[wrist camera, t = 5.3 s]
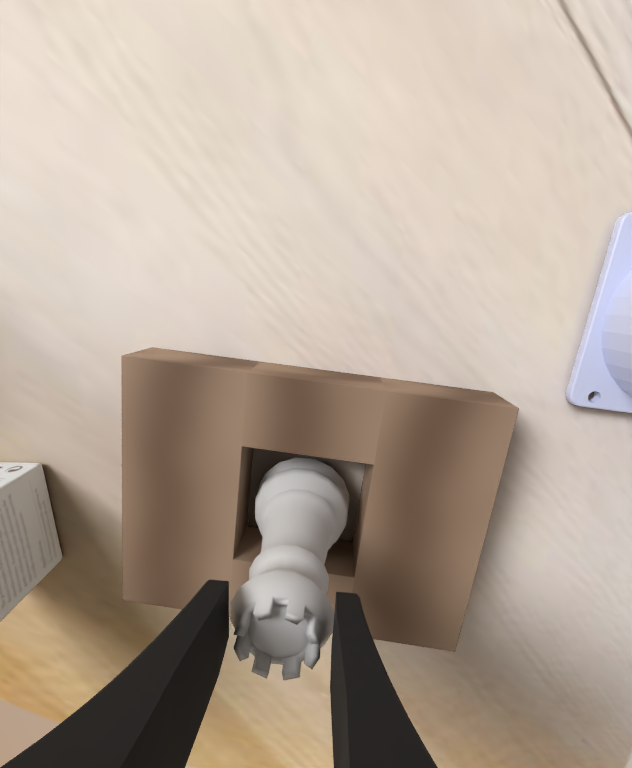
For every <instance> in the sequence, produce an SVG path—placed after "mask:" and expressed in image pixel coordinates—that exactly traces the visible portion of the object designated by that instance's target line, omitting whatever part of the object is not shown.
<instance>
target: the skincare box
mask: <svg viewBox="0 0 632 768" xmlns="http://www.w3.org/2000/svg"><path fill="white" fill-rule="evenodd" d="M61 560H62V552H61V548H60V544H59V539H58V535H57V531H56V526H55V521H54V517H53V512H52V508H51V503H50V499H49V494H48V490H47V485H46V481H45V476H44V472H43V467H42V464H41V463H23V462H0V622H1V621H2V620H3V619H4V618H5V617H6V616H7V615H8V614H9V613H10V611H11V610H12V609H13V608H14V607H15V606H16V605H17V604H18V603H19V602H20V601H21V600H22V599H23V598H24V597H25V596H26V595H27V594H28V593H29V592H30V591H31V590H32V589H33V588H34V587H35V586H36V585H37V584H38V583H39V582H40V581H41V580H42V579H43V578H44V577H45V576H46V575H47V574H48V573H49V572H50V571H51V570H52V569H53V568H54V567H55V566H56V565H57V564H58V563H59V562H60V561H61Z"/></svg>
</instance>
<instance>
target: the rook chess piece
mask: <svg viewBox="0 0 632 768" xmlns="http://www.w3.org/2000/svg"><path fill="white" fill-rule="evenodd" d="M349 497H350V496H349V493H348V490H347V488H346V485H345V482H344V480H343V479H342V478H341V477H340V476H339V474H338V473H337V472H336V471H335V470H334V469H333V468H332V467H330V466H328V465H326V464H324V463H322V462H320V461H318V460H316V459H308V458H297V457H296V458H293V459H289V460H286V461H282V462H279V463H278V464H276V465H275V466H274V467H273V468H271V469H270V470H269V471H268V472H266V473H265V475H264V477H263V479H262V481H261V483H260V485H259V487H258V494H257V496H256V498H255V520H256V522H257V524H258V527H259V530H260V532H261V535H262V537H263V539H262V548H261V553H260V554H259V555H258V556H257V557H256V558H255V560H254V561H253V563H252V565H251V567H250V569H249V581H247V582H246V583H244V584H243V585H242V586H240V587H239V588H238V590H237V592H236V594H235V596H234V597H233V599H232V601H231V622H232V624H233V626H234V628H235V632H234V635H237V638H236V642H235V645H234V650H235V652H236V654H237V656H238V658H239V660H240V661H242V660H244V659H246V658H248V657H249V653H250V652H251V653H252V654H253V655H254V656H255V660H254V664H253V668H252V672H253V673H256V674H258V675H260V676H262V677H265V678H267V677H268V673H269V669H270V664H271V663H272V664H281V665H283V670H282V675H283V680H288V679H293V678H298V677H300V668H301V662H302V661H303V660H304V664H305V665H306V666H308V667H309V668H311V669H313V667H314V666H315V664H316V663H317V661H318V660H319V658H320V648H321V647H322V646H324V644H325V643H326V641H327V640H328V638H329V637H330V635H331V634H332V632H333V625H334V610H333V608H332V605H331V603H330V600H329V598H328V596H327V595H326V593H327V591H328V584H329V576H328V573H327V571H326V568H325V566H324V564H325V560H326V556H327V552H328V550H329V549H330V548H331V546H332V545H333V544H334V543H335V542H336V541H337V540H338V538H339V536H340V535H341V533H342V531H343V530H344V528H345V526H346V524H347V516H348V507H349Z"/></svg>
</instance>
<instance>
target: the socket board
mask: <svg viewBox="0 0 632 768" xmlns="http://www.w3.org/2000/svg"><path fill="white" fill-rule="evenodd" d="M518 411H519V408H517V407H516V406H514V405H512V404H511V403H509V402H508V401H506V400H505V399H503V398H501V397H500V396H498V395H497V394H495V393H493V392H486V391H478V390H471V389H463V388H455V387H448V386H440V385H433V384H425V383H417V382H410V381H402V380H395V379H387V378H379V377H372V376H364V375H357V374H349V373H341V372H334V371H326V370H319V369H311V368H303V367H296V366H288V365H281V364H273V363H265V362H258V361H250V360H243V359H235V358H227V357H220V356H212V355H205V354H197V353H189V352H182V351H174V350H167V349H159V348H149V349H145V350H141V351H138V352H134V353H130V354H127V355H123V356H122V578H123V600H126V601H133V602H139V603H146V604H152V605H158V606H165V607H171V608H178V609H183V608H184V607H185V606H186V605H187V604H188V603H189V601H190V600H191V599H192V598H193V597H194V596H195V594H196V593H197V592H198V591H199V590H200V589H201V587H202V586H203V585H204V584H205V583H206V582H207V581H208V580H209V579H210V580H221V581H229V617H231V601H232V599H233V597H234V596H235V594H236V592H237V590H238V588H239V587H240V586H242V585H243V584H244V583H246V582H247V581H249V569H250V567H251V565H252V563H253V561H254V560H255V558H256V557H257V556H258V555H259V554H260V553H261V548H262V539H263V537H262V535H261V532H260V530H259V528H254V527H247V526H246V525H247V513H248V502H249V490H250V478H251V467H252V455H253V448H258V449H265V450H272V451H279V452H287V453H294V454H301V455H308V456H315V457H322V458H329V459H337V460H344V461H351V462H358V463H365V464H366V465H365V471H364V477H363V483H362V489H361V495H360V501H359V507H358V513H357V519H356V525H355V531H354V537H353V542H349V541H342V540H337V541H336V542H335V543H334V544H333V545H332V546H331V548H330V549H329V550H328V552H327V556H326V560H325V564H324V566H325V568H326V571H327V573H328V576H329V584H328V591H327V593H326V595H327V596H328V598H329V600H330V603H331V605H332V608H333V610H334V613H335V600H336V592H346V593H356V594H357V595H358V596H359V597H360V600H361V604H362V608H363V612H364V615H365V618H366V621H367V624H368V627H369V630H370V633H371V636H372V638H373V639H377V640H383V641H390V642H396V643H403V644H409V645H415V646H422V647H428V648H435V649H441V650H448V651H454V652H455V650H456V646H457V642H458V639H459V635H460V631H461V627H462V623H463V620H464V616H465V612H466V608H467V604H468V601H469V597H470V593H471V589H472V585H473V582H474V578H475V574H476V570H477V566H478V563H479V559H480V555H481V551H482V547H483V544H484V540H485V536H486V532H487V528H488V525H489V521H490V517H491V513H492V509H493V506H494V502H495V498H496V494H497V490H498V487H499V483H500V479H501V475H502V471H503V468H504V464H505V460H506V456H507V452H508V449H509V445H510V441H511V437H512V433H513V430H514V426H515V422H516V418H517V414H518ZM332 633H333V632H332Z"/></svg>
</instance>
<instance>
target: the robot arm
mask: <svg viewBox="0 0 632 768" xmlns="http://www.w3.org/2000/svg"><path fill="white" fill-rule="evenodd" d="M593 391H594V392H595V396H594V397H593V399H591V400H588V396H589V394H590V393H591V392H593ZM566 398H567V400H568V401H569V402H570V403H572V404H574V405H577V406H581V407H588V408H596V409H604V410H611V411H619V412H626V413H632V211H631V212H628V213H625V214H623V215H621V216H620V217H619V218H618V220H617V222H616V224H615V227H614V230H613V234H612V237H611V240H610V244H609V247H608V251H607V254H606V258H605V261H604V264H603V268H602V271H601V275H600V278H599V282H598V285H597V288H596V292H595V295H594V299H593V302H592V306H591V309H590V312H589V316H588V319H587V323H586V326H585V329H584V333H583V336H582V340H581V343H580V347H579V350H578V353H577V357H576V360H575V364H574V367H573V371H572V374H571V377H570V381H569V384H568V388H567V391H566ZM228 638H229V581H221V580H210V579H209V580H208V581H207V582H206V583H205V584H204V585H203V586H202V587H201V589H200V590H199V591H198V592H197V593H196V594H195V596H194V597H193V598H192V599H191V600H190V601H189V603H188V604H187V605H186V606H185V607H184V608H183V609H182V611H181V612H180V613H179V614H178V615H177V616H176V617H175V618H174V619H173V621H172V622H171V623H170V624H169V625H168V626H167V627H166V628H165V629H164V630H163V631H162V632H161V633H160V634H159V636H158V637H157V638H156V639H155V640H154V641H153V642H152V643H151V644H150V645H149V646H148V647H147V648H146V649H145V650H144V651H143V652H142V653H141V654H140V655H139V656H138V657H137V658H136V659H135V660H134V661H132V662H131V663H130V664H129V665H128V666H127V667H126V668H125V669H124V670H123V671H122V672H121V673H120V674H119V675H118V676H117V677H115V678H114V679H113V680H112V681H111V682H110V683H109V684H108V685H107V686H105V687H104V688H103V689H102V690H101V691H100V692H98V693H97V694H96V695H95V696H94V697H93V698H92V699H90V700H89V701H88V702H87V703H86V704H84V705H83V706H82V707H81V708H79V709H78V710H77V711H76V712H74V713H73V714H72V715H71V716H69V717H68V718H67V719H66V720H64V721H63V722H62V723H61V724H59V725H58V726H57V727H56V728H54V729H53V730H52V731H50V732H49V733H48V734H46V735H45V736H44V737H43V738H41V739H40V740H38V741H37V742H36V743H34V744H33V745H31V746H30V747H29V748H27V749H26V750H24V751H23V752H22V753H20V754H19V755H17V756H16V757H15V758H13V759H12V760H10V761H9V762H8V763H6V764H5V765H3V766H2V767H0V768H185V766H186V763H187V760H188V758H189V755H190V752H191V749H192V747H193V744H194V741H195V739H196V736H197V733H198V730H199V728H200V725H201V722H202V720H203V717H204V714H205V712H206V709H207V706H208V703H209V701H210V698H211V695H212V692H213V690H214V687H215V684H216V681H217V678H218V676H219V672H220V668H221V665H222V661H223V657H224V653H225V649H226V645H227V641H228ZM330 693H331V715H332V736H333V758H334V768H438V767H437V766H436V764H435V763H434V761H433V759H432V757H431V756H430V754H429V752H428V751H427V749H426V747H425V746H424V744H423V742H422V741H421V739H420V737H419V735H418V733H417V732H416V730H415V728H414V726H413V724H412V723H411V721H410V719H409V717H408V715H407V713H406V711H405V709H404V707H403V705H402V703H401V701H400V699H399V697H398V695H397V693H396V691H395V689H394V687H393V685H392V683H391V681H390V679H389V676H388V674H387V672H386V670H385V667H384V665H383V663H382V660H381V658H380V656H379V653H378V651H377V648H376V646H375V643H374V641H373V638H372V636H371V633H370V630H369V627H368V624H367V621H366V618H365V615H364V612H363V608H362V604H361V600H360V597H359V596H358V595H357V594H356V593H346V592H336V600H335V613H334V625H333V637H332V652H331V681H330Z"/></svg>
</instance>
